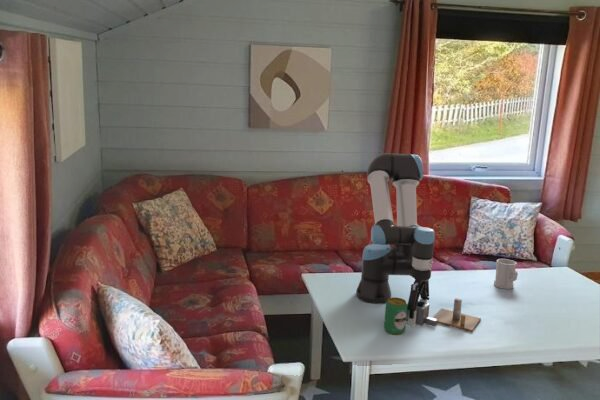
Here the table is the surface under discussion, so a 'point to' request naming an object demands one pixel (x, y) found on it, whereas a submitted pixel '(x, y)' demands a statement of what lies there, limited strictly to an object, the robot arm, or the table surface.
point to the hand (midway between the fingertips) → (416, 320)
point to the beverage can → (395, 316)
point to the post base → (454, 323)
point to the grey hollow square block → (423, 315)
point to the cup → (505, 273)
